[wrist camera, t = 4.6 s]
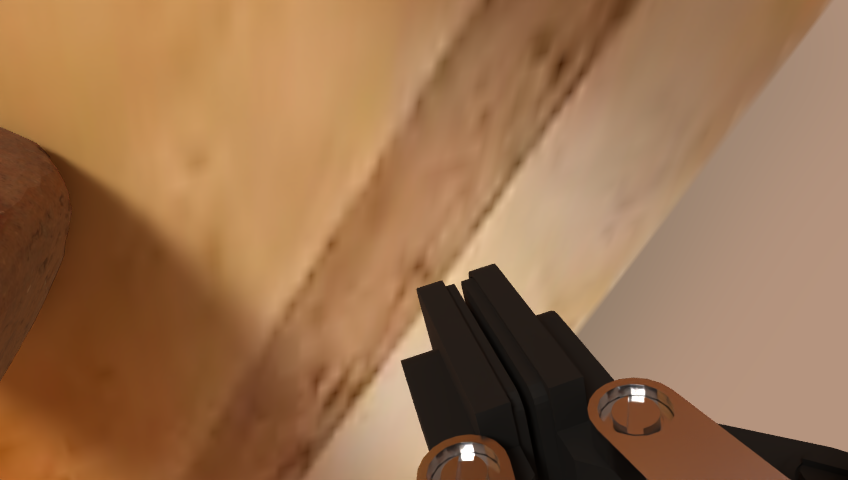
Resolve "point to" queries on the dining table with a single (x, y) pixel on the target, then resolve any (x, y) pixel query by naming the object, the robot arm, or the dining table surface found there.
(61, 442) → the dining table surface
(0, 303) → the block
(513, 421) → the robot arm
